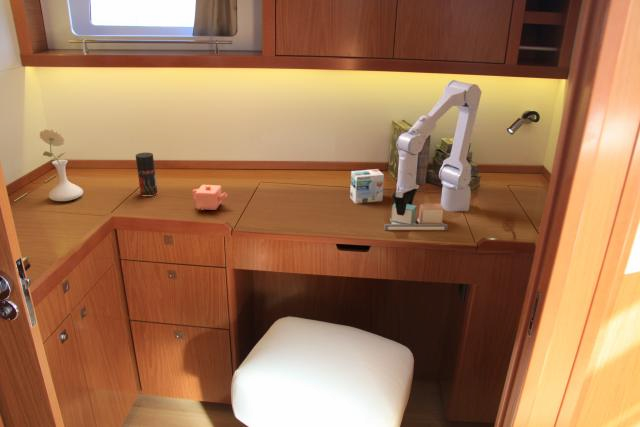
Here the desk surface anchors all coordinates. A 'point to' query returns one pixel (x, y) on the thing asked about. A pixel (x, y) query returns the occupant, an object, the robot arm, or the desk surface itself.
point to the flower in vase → (60, 170)
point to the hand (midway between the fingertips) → (404, 210)
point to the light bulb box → (366, 186)
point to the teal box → (407, 217)
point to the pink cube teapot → (208, 197)
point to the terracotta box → (431, 213)
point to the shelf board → (415, 226)
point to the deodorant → (146, 173)
